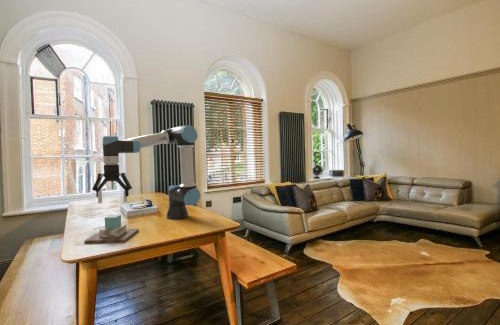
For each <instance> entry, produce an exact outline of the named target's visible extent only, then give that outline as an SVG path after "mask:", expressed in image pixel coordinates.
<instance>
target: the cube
mask: <svg viewBox="0 0 500 325" xmlns="http://www.w3.org/2000/svg"><path fill="white" fill-rule="evenodd" d="M121 225H122V214H109V215H107V216H105V217H104V227H105V229H115V228H118V227H120V226H121Z"/></svg>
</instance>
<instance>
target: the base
mask: <svg viewBox="0 0 500 325" xmlns="http://www.w3.org/2000/svg"><path fill="white" fill-rule="evenodd" d="M138 232H140V230H139V228H127V224H121V226H120V227H118V228H115V229H105V226H104V227H102V228H100V229H99V232H97V233H96V234H93V235H92V236H90V237H88V238H87V239H85V240H84V241H83V242H84V245H85V244H86V245H87V244H120V243H123V244H124V243H126V242H127V241H129V240H130V238H132V237H134V236H135V235H136V234H137V233H138Z"/></svg>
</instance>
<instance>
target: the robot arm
mask: <svg viewBox="0 0 500 325" xmlns="http://www.w3.org/2000/svg"><path fill="white" fill-rule="evenodd" d="M197 139H198V132H197V130H196V128H195V127H194V126H192V125H187V124H185V125H180V126H179V125H178V126H175V127H172V128H168V129H165V130H161V132H156V133H152V134H145V135H141V136H137V137H130V138H127V139H119V137H118V136H117V135H105V136H103V137H102V153H103V154H102V155H103V157H102V158H103V161H102V162H103V164H104V165H103V173H102V172H99V173H97V178H96V180H95V182H94V184H93V186H92V189H91V190H92V191H95V192H96V194H95V196H96V198H97V202H98V204H102V203H103V193H102V192H103V190H102V189H103V187H104V186H105V185H106V184H107V183H108V182H117V184H119V186H120V187H121V188H122V189H123V204H125V203H128V197H129V195H130V194H129V193H130V192H129V190H132V189H133V187H132V185H131V184H130V181H129V179H128V178H127V176H126V172H120V164H119V163H120V155H119V154H138V153H140V151H141V149H144V148H149V147H153V146H157V145H161V144H165V145H169V144H170V145H171V144H176V147H178V148H179V163H180V164H179V165H180V179H181V180H180V182H181V183H180V184H177V185H170V186H169V187H168V208H167V212H166V218H167V219H168V220H181V218H182V219H186V218H188V217H189V212H188V209H187V206H194V205H197V204H198V202H200V199H201V192H200V190H199V189H198V188H197V184H196V182H195V175H194V174H195V172H194V171H195V170H194V152H193V149H194V147H195V142H196V141H197ZM120 177H121V178H122V179H121V178H120ZM102 178H104V179H103V180H102ZM101 180H102V181H101ZM122 180H123V181H122ZM185 217H186V218H185Z"/></svg>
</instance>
